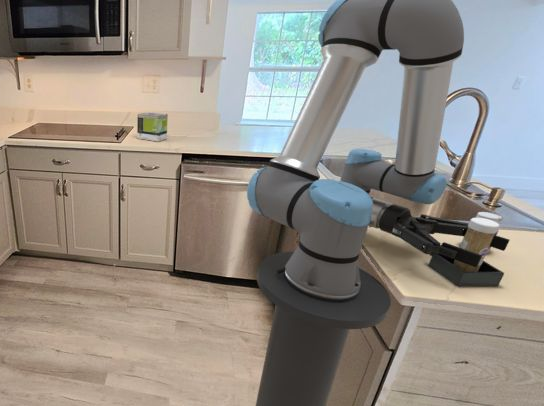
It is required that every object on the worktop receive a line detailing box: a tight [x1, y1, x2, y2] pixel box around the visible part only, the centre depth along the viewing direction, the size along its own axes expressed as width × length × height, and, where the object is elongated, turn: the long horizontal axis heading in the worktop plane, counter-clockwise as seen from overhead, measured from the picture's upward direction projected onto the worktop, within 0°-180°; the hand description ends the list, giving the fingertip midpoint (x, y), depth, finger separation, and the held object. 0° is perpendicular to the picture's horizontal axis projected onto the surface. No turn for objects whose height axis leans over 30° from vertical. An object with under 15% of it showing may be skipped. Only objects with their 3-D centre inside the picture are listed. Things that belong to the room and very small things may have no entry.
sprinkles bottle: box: [453, 217, 500, 272], centre depth 82 cm, size 5×5×14 cm
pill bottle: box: [460, 211, 501, 254], centre depth 93 cm, size 5×5×10 cm
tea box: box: [136, 111, 169, 142], centre depth 213 cm, size 15×10×15 cm
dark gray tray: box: [428, 253, 505, 287], centre depth 84 cm, size 8×8×4 cm
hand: (493, 253), depth 79 cm, fingers open, 13 cm apart
